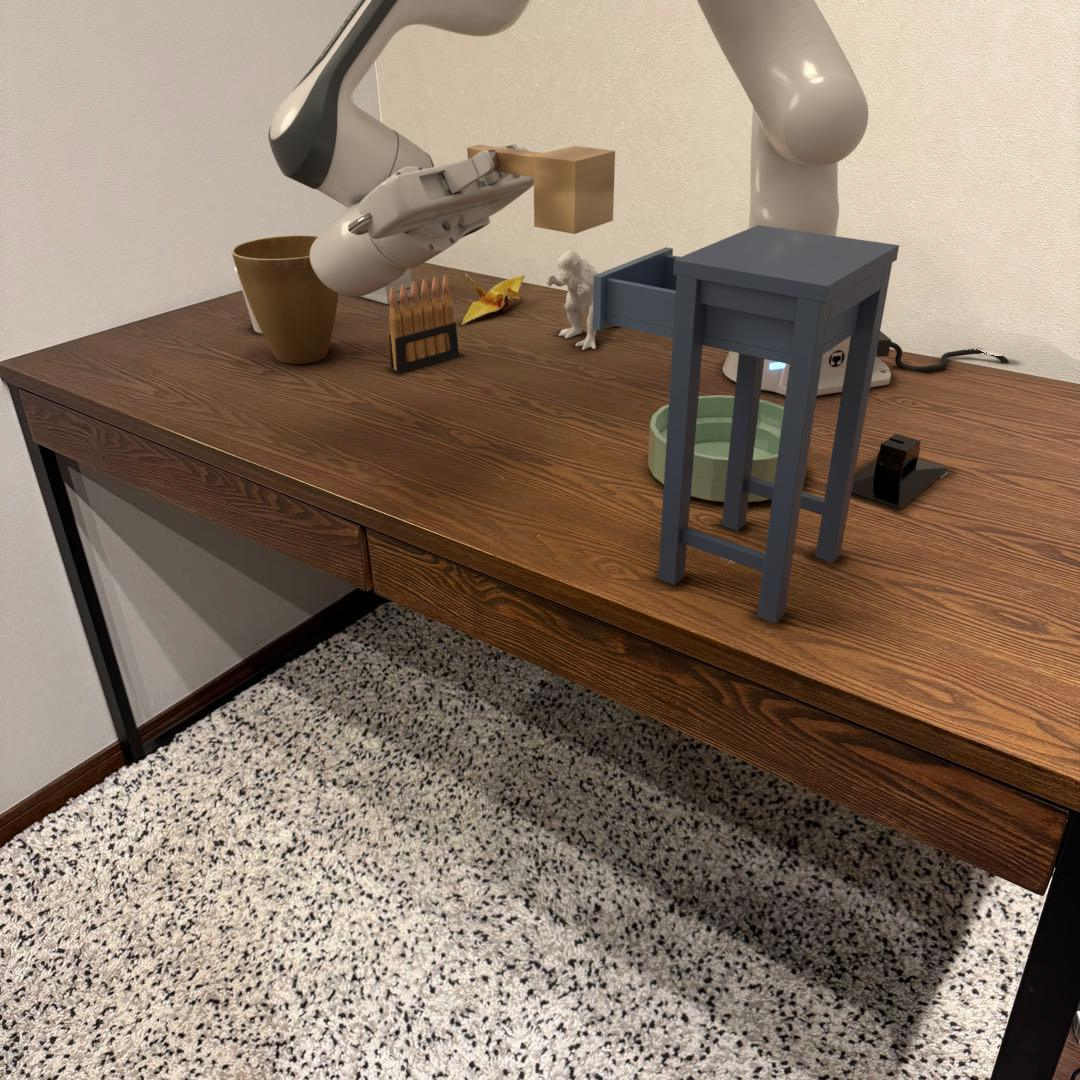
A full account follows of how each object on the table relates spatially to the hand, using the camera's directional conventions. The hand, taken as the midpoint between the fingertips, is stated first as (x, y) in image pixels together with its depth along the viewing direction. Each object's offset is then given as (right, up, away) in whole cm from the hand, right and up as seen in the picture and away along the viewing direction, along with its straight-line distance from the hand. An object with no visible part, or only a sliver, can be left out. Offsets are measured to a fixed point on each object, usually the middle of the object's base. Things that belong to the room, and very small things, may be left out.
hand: (504, 155), depth 87 cm
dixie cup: (-40, -2, +64) cm, 76 cm away
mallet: (+3, -5, +1) cm, 6 cm away
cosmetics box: (-25, +7, +79) cm, 83 cm away
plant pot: (-32, -8, +53) cm, 62 cm away
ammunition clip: (-13, -10, +50) cm, 53 cm away
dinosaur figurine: (+11, -4, +59) cm, 60 cm away
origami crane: (-4, +3, +71) cm, 71 cm away
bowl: (+24, -28, +19) cm, 41 cm away
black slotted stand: (+42, -29, +17) cm, 54 cm away
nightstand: (+19, -37, +4) cm, 42 cm away
